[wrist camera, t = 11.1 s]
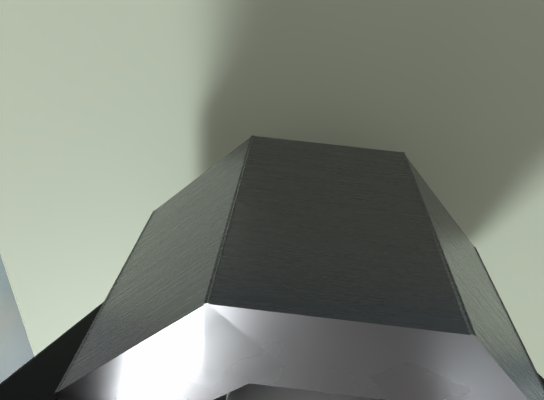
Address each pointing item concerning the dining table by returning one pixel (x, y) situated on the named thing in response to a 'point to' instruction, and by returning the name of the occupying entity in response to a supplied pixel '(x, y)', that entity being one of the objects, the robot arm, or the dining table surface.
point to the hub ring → (303, 289)
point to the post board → (259, 127)
